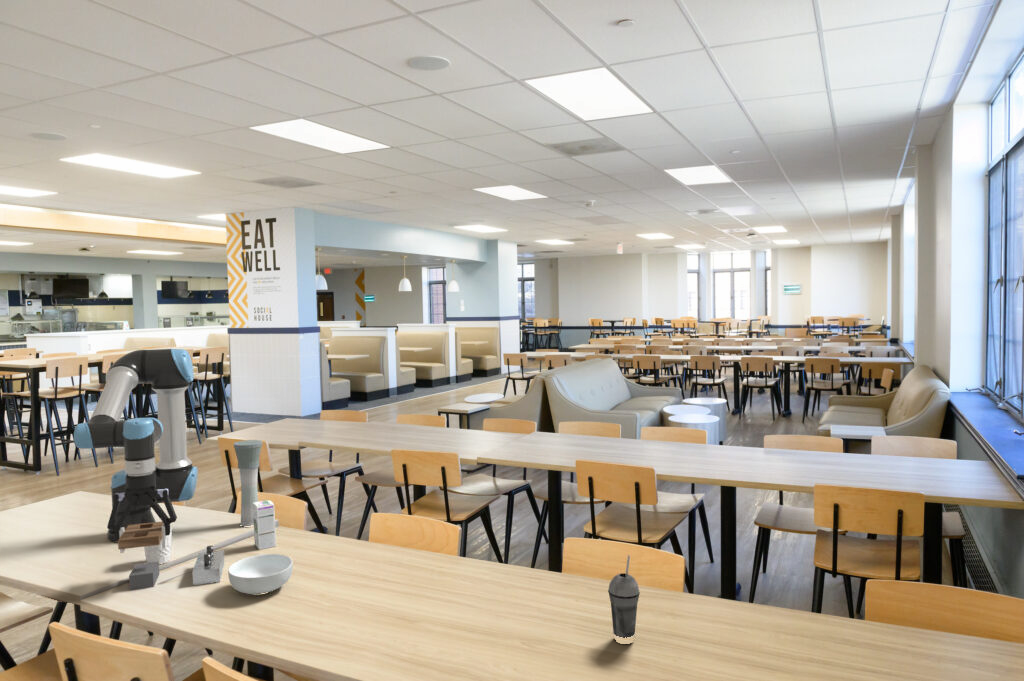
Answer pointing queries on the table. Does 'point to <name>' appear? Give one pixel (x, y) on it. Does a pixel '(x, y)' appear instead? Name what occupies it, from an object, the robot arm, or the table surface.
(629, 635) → the beverage cup
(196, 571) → the chassis
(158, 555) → the white cup
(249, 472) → the container
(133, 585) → the riser
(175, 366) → the robot arm
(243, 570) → the cereal bowl
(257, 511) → the syrup box
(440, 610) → the table surface
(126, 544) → the board
